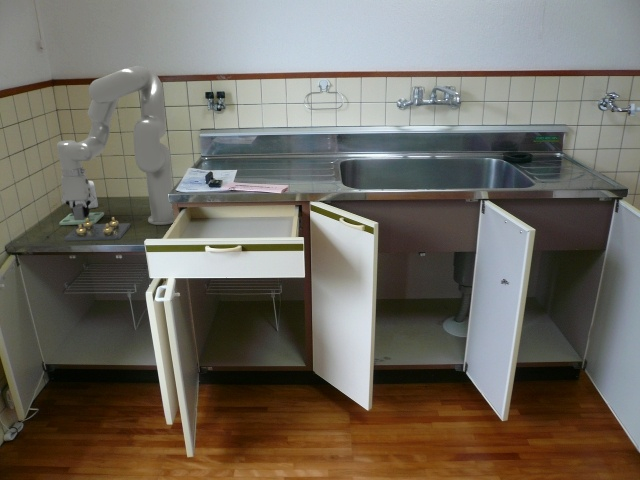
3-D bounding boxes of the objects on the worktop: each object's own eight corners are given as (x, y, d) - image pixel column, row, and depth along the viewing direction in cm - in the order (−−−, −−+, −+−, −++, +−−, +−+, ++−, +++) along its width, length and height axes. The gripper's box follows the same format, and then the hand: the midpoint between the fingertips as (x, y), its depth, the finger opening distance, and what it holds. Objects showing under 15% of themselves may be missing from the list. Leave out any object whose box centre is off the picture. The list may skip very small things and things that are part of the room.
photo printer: (97, 204, 236) (92, 178, 231) (99, 207, 233) (94, 180, 228) (72, 209, 231) (67, 181, 226) (74, 211, 227) (69, 184, 223)
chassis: (130, 226, 210) (128, 214, 208) (119, 239, 197) (117, 226, 196) (79, 227, 210) (77, 215, 208) (65, 240, 197) (62, 228, 195)
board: (104, 214, 222) (101, 200, 220) (95, 223, 212) (92, 209, 210) (70, 215, 222) (67, 202, 219) (59, 225, 212) (56, 210, 209)
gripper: (97, 169, 213) (105, 212, 220) (55, 170, 212) (64, 213, 219) (90, 174, 206) (99, 218, 213) (47, 175, 206) (57, 220, 213)
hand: (81, 215), depth 216 cm, fingers closed on board, 3 cm apart
